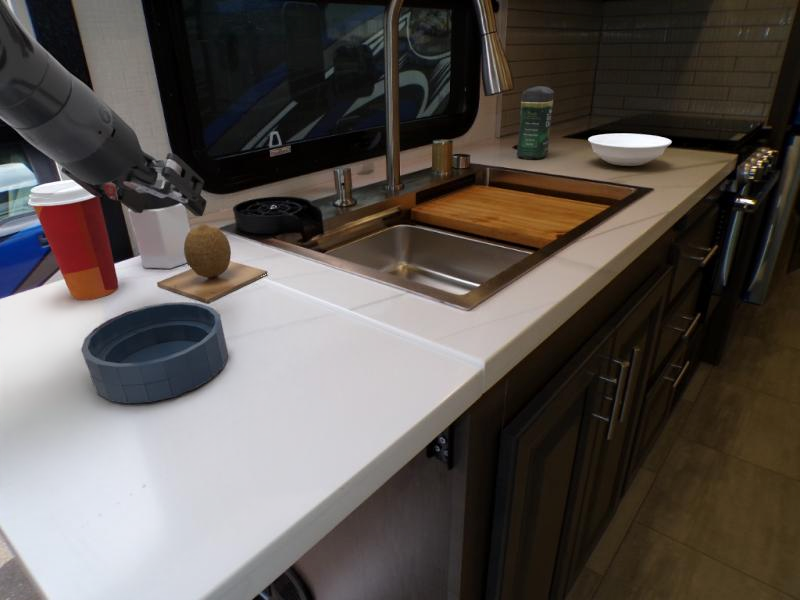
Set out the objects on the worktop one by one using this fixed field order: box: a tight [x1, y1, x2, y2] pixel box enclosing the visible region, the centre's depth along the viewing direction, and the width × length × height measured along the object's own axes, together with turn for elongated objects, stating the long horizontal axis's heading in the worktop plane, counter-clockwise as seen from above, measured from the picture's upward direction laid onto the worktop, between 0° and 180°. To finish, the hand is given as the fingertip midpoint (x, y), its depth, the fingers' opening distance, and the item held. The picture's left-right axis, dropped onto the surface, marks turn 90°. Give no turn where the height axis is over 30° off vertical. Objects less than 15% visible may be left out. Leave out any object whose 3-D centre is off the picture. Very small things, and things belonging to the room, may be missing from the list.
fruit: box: [184, 223, 232, 278], centre depth 74 cm, size 6×6×8 cm
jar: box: [127, 179, 192, 270], centre depth 82 cm, size 9×8×12 cm
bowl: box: [587, 133, 673, 167], centre depth 135 cm, size 20×20×6 cm
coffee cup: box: [27, 179, 119, 301], centre depth 71 cm, size 8×8×15 cm
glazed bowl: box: [80, 301, 229, 404], centre depth 55 cm, size 13×13×4 cm
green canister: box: [516, 85, 555, 160], centre depth 145 cm, size 10×8×19 cm
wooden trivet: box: [156, 260, 269, 304], centre depth 76 cm, size 11×11×1 cm
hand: (171, 208), depth 66 cm, fingers open, 8 cm apart
